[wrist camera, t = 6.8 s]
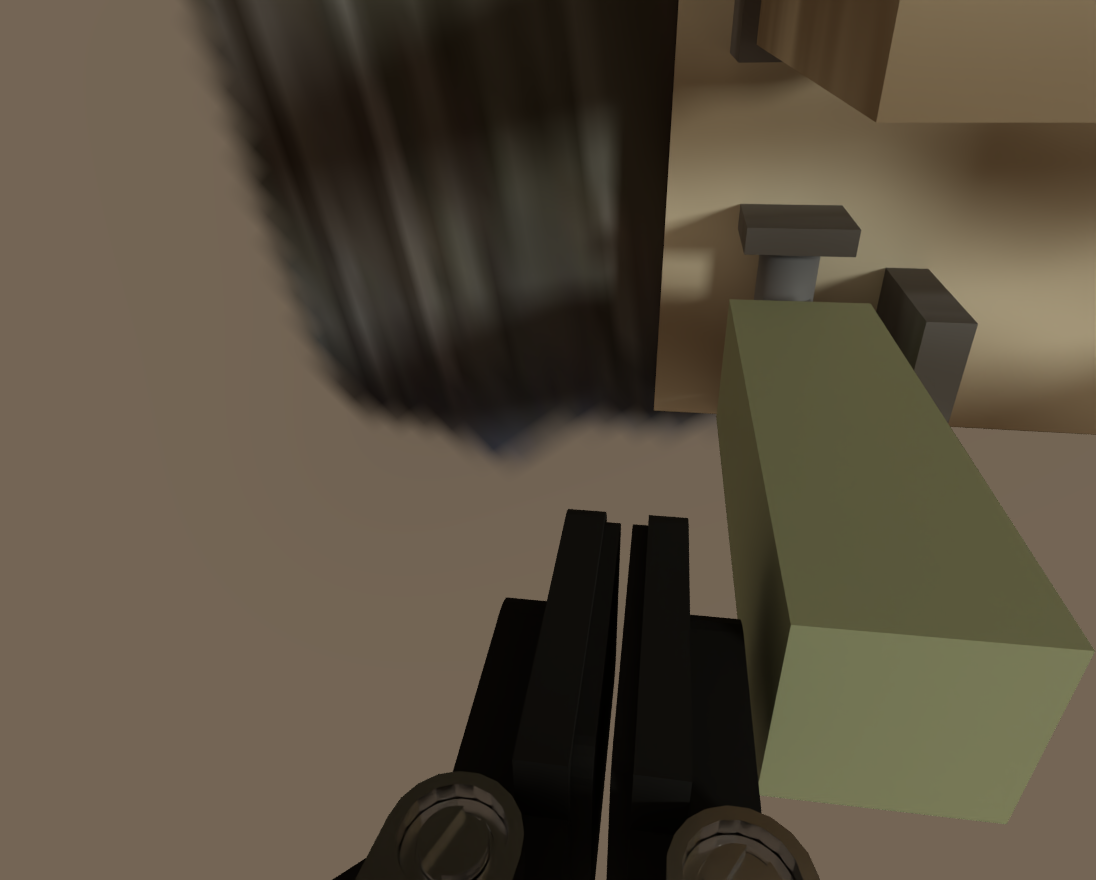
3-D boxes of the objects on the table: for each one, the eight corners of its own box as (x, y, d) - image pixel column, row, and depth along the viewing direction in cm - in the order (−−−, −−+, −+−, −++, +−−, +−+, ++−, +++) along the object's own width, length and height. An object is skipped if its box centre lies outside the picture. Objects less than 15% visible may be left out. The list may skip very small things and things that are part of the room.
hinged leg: (724, 242, 18) (798, 590, 8) (849, 245, 18) (1112, 615, 7) (709, 385, 20) (751, 818, 10) (821, 390, 20) (994, 846, 9)
